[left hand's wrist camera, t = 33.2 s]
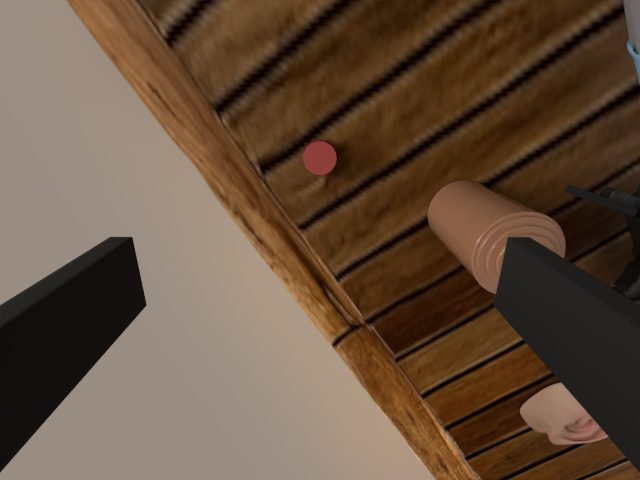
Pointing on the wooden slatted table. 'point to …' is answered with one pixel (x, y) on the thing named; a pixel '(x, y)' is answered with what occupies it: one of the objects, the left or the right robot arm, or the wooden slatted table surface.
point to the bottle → (487, 227)
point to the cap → (319, 157)
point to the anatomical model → (560, 417)
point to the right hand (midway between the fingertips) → (540, 246)
